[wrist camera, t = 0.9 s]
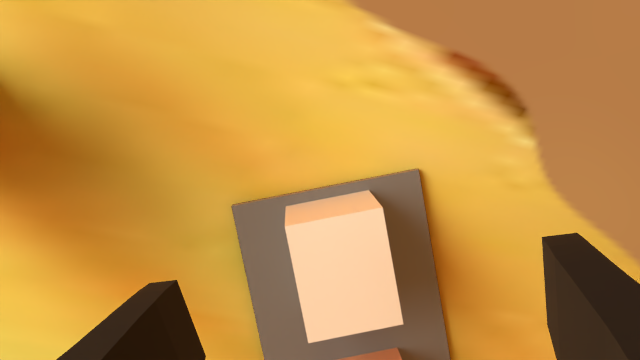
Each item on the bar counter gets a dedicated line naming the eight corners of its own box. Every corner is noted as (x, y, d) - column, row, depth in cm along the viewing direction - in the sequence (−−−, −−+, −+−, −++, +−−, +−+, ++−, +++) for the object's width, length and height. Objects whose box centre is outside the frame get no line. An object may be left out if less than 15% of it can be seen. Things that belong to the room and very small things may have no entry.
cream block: (386, 290, 30) (403, 324, 25) (305, 306, 30) (308, 343, 25) (368, 189, 29) (382, 207, 25) (285, 206, 29) (284, 226, 25)
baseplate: (461, 434, 31) (463, 439, 31) (289, 469, 31) (289, 474, 31) (416, 168, 29) (418, 169, 29) (232, 204, 29) (231, 206, 29)
